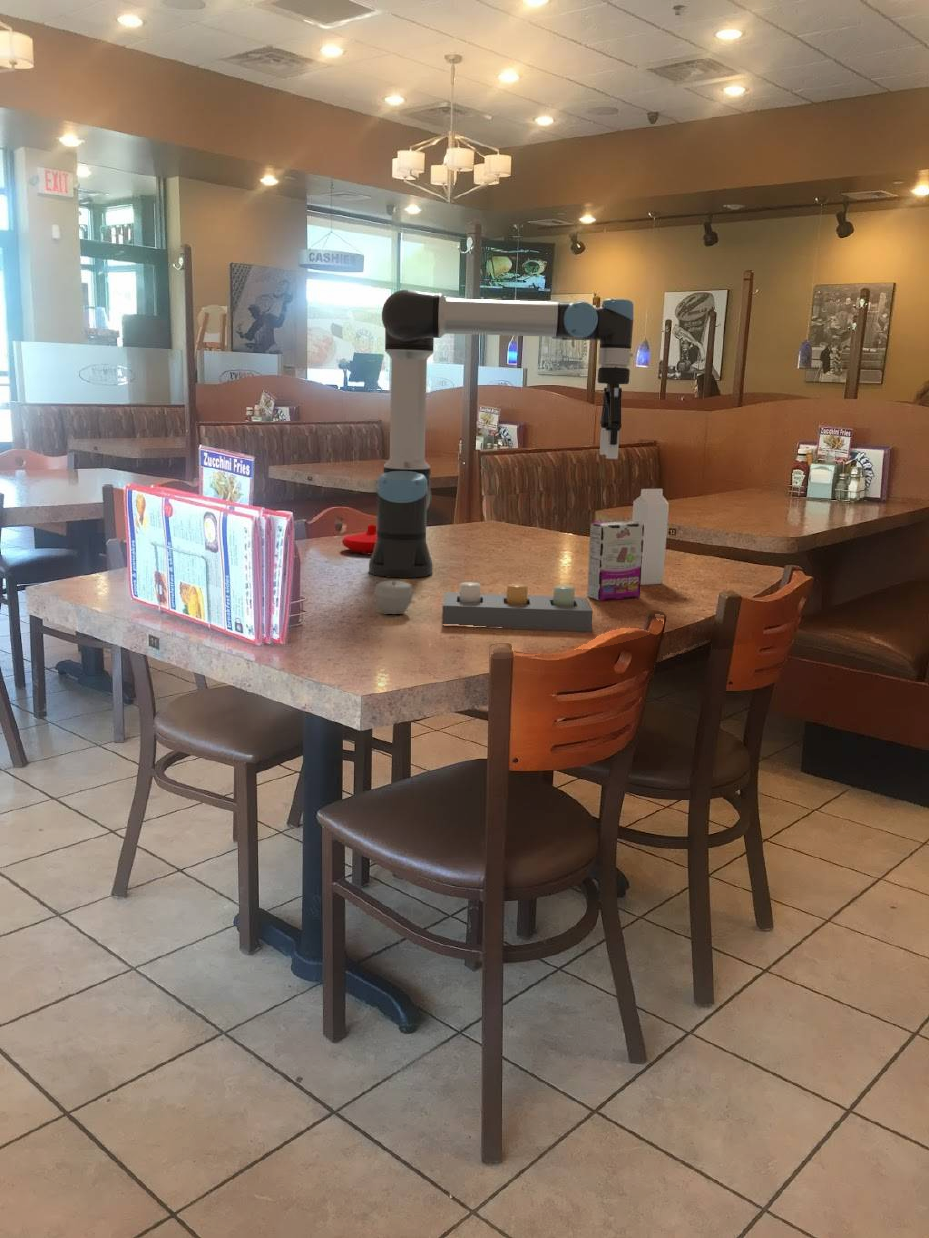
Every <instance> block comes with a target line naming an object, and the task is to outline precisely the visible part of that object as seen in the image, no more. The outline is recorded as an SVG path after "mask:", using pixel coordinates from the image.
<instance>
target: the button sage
mask: <svg viewBox="0 0 929 1238" xmlns="http://www.w3.org/2000/svg"><path fill="white" fill-rule="evenodd" d="M575 592H576V588H575V587H574V586H569V585H556V586H553V593H552V594H553V595H552V596H553V606H574V597H575Z"/></svg>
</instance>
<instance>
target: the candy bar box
mask: <svg viewBox="0 0 929 1238" xmlns="http://www.w3.org/2000/svg"><path fill="white" fill-rule="evenodd" d="M589 528H590V529H589V547H588V548H589V552H588V555H589V557H588V571H587V572H588V573H587V574H588V577H587V593H586V595H587V597H586V598H589V599H591V600H595V601H597V602H604V601H605V602H606V601H615V600H616V601H617V600H624V599H625V600H626V599H636V598H637V599H638V598H640V597H641V586H642V585H641V569H642V553H643V536H644V524H643V523H639V522H635V521H632V520H627V521H610V522H609V521H608V522H594V523H593V522H592V523H590V527H589Z"/></svg>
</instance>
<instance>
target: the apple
mask: <svg viewBox="0 0 929 1238" xmlns="http://www.w3.org/2000/svg"><path fill="white" fill-rule="evenodd" d="M413 596H414V590H413V586H412V584H411V583H408V582H405V581H401V580H386V581H385V580H384V581H380V582H378V583H377V584H376V586H375V587H374V590H373V598H374V600H375V601H374V602H375V605H376V606H377V608H378V610H379V612H381V613H382V612H383V613H385V614H384V615H386V614H402V613H405V612H406V611H407V610H408V608H409V606H410V605H411V603H412V599H413ZM383 613H382V614H383ZM402 615H403V614H402Z"/></svg>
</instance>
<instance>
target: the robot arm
mask: <svg viewBox="0 0 929 1238" xmlns="http://www.w3.org/2000/svg"><path fill="white" fill-rule="evenodd" d="M634 307H635V305H634V302H633V301H632V300H630V299H624V298H606V299H603V301H602V303H601V305H600V307H594V306H593V305H592V304H590V303H588V302H587V301H576V302H564V301H562V302H558V301H530V300H529V301H528V300H502V299H500V300H498V299H471V298H470V299H469V298H447V297H445V295H444V294H442V293H436V292H435V293H433V292H424V291H417V290H414V289H413V290H412V289H401V290H398V291H395V292H394V293H392V294H391V295H390V296H388V297H387V299H386V300H385V301H384V304H383V306H382V309H381V321H382V325H383V327H384V329H385V330H384V331H385V332H384V333H385V334H384V352H385V353H386V354H387V355H388V356H389V357H390V360H391V362H390V367H391V368H390V369H391V370H390V415H389V416H390V422H389V423H390V426H389V432H390V433H389V459H388V460H387V461H386V462H385V463H384V464H383V471H382V474H380V475H379V476H378V478H377V484H376V492H377V499H376V500H377V502H376V503H377V505H376V507H377V508H376V511H377V512H376V530H377V541H376V544H375V547H374V550H373V553H372V554H371V556H370V559H369V562H368V572H369V573H370V574H372V575H374V576H378V577H384V576H389V577H388V578H393V577H398V578H397V579H405V578H406V579H412V578H413V579H414V578H422V577H427V576H430V575H432V574H433V573H434V572H433V569H434V565H433V564H434V563H433V561H432V557H431V553H430V550H429V547H428V544H427V543H428V542H427V517H428V515H427V513H428V511H427V510H428V509H429V507H430V505H431V503H432V490H431V488H432V487H431V472H432V471H431V465H430V464H429V463H428V462H427V461H426V458H425V457H426V456H425V455H426V454H425V453H426V420H427V419H426V416H427V415H426V414H427V413H426V410H427V378H428V377H427V371H428V368H427V367H428V359H429V358H430V357H431V356H432V355H433V354H434V344H435V343H434V342H435V341H434V340H435V339H441V338H442V337H443V336H444V335H445V334H450V335H451V334H452V335H478V336H480V335H483V336H485V335H487V336H488V335H490V336H512V337H513V336H515V337H516V336H517V337H522V336H523V337H545V338H546V337H551V339H554V340H562V341H594V342H595V341H599V349H598V361H597V363H598V365H599V366H600V367H599V368H598V369H597V383H598V384H606V387H604V388H603V395H602V397H603V398H602V399H603V401H602V407H601V409H602V410H601V417H600V418H601V419H600V422H599V423H600V426H601V428H600V438H599V440H600V442H599V443H600V445H599V455H603V456H605V459H607V460H609V459H610V460H618V459H619V448H620V447H619V443H620V431H621V428H622V395H623V393H622V392H623V389H622V387H620V385H629V383H630V374H631V372H630V371H631V370H630V368H628V367H629V366H630V365H631V358H633V357H634V353H632V343H633V342H632V341H633V330H634V323H635V322H634V321H635V319H634Z"/></svg>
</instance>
